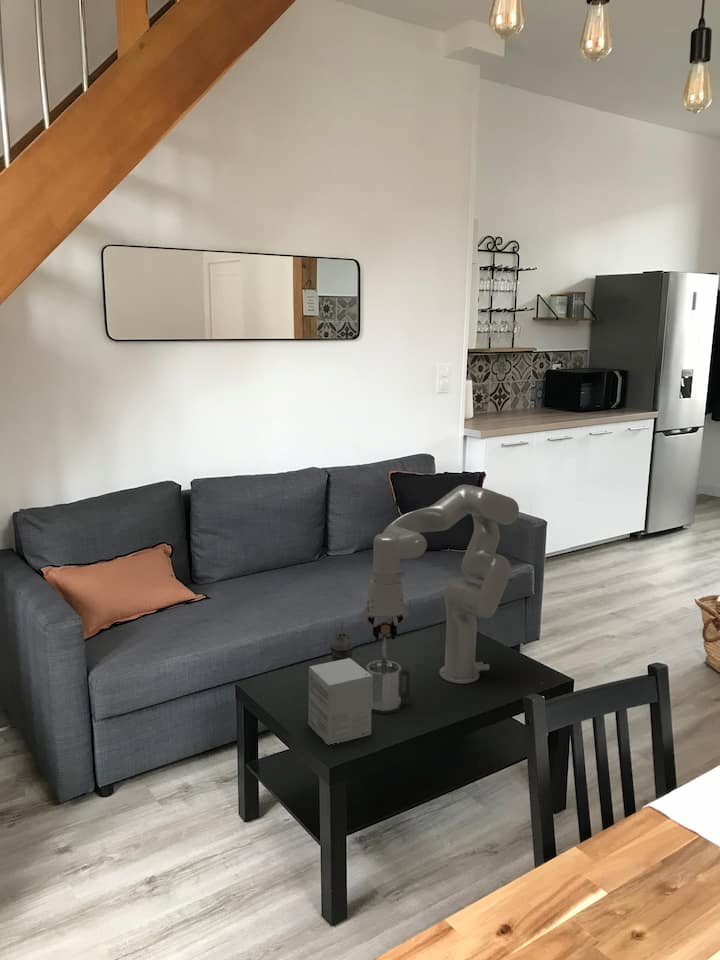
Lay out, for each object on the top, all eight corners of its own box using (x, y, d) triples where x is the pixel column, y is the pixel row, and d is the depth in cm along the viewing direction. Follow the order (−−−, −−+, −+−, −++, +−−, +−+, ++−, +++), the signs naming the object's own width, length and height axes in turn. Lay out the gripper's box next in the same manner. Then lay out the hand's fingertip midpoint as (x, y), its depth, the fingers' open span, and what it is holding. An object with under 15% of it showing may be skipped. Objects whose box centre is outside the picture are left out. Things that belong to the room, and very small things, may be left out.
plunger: (393, 668, 230) (395, 616, 227) (399, 680, 223) (400, 626, 220) (368, 670, 229) (369, 617, 226) (372, 681, 222) (374, 627, 219)
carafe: (404, 695, 234) (405, 658, 232) (412, 712, 224) (413, 673, 222) (362, 698, 232) (363, 660, 230) (368, 715, 222) (369, 676, 220)
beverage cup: (354, 677, 246) (355, 617, 242) (351, 687, 239) (352, 626, 235) (331, 675, 247) (332, 616, 243) (328, 686, 240) (329, 624, 236)
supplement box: (349, 714, 223) (350, 656, 219) (371, 735, 211) (373, 675, 208) (307, 724, 217) (307, 665, 213) (328, 746, 205) (328, 685, 202)
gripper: (412, 572, 225) (410, 631, 229) (355, 573, 223) (354, 634, 226) (417, 580, 218) (415, 641, 222) (359, 582, 215) (357, 644, 219)
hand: (384, 637), depth 224 cm, fingers closed on plunger, 4 cm apart
